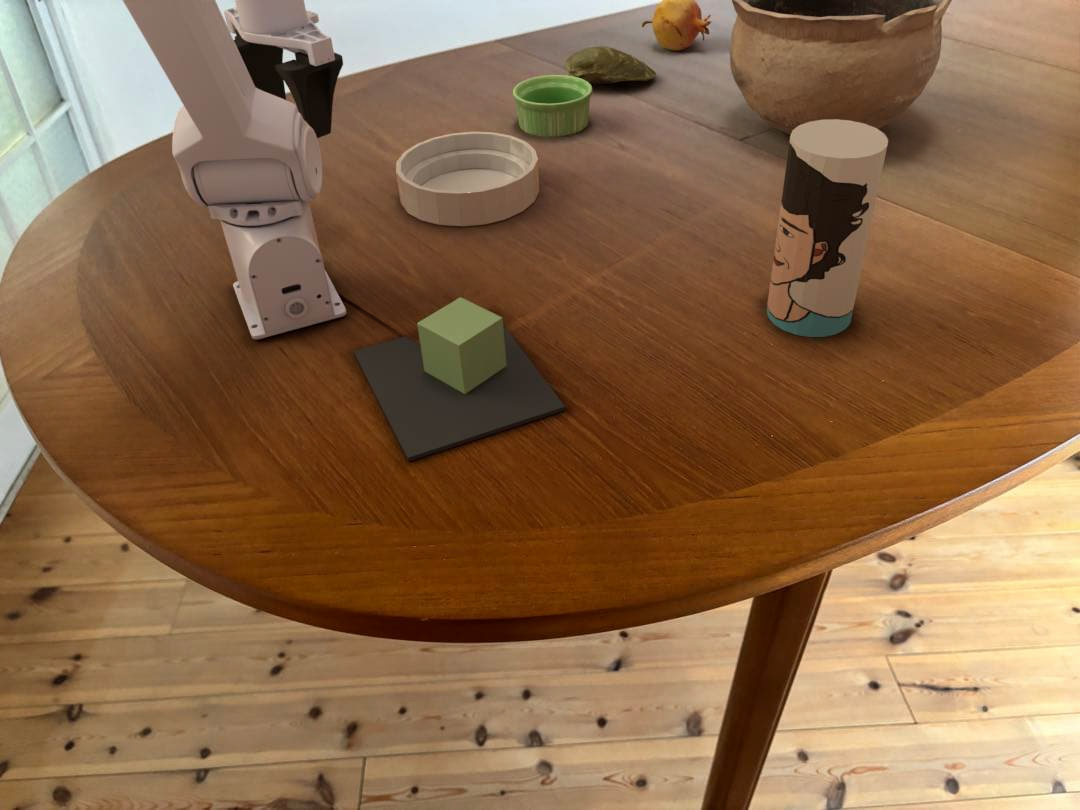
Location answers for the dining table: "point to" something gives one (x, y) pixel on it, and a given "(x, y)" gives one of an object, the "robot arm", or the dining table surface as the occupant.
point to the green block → (462, 344)
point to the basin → (468, 178)
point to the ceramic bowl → (834, 58)
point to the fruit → (678, 23)
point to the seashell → (607, 66)
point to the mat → (452, 397)
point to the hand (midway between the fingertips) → (297, 124)
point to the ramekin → (553, 105)
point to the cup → (824, 225)
